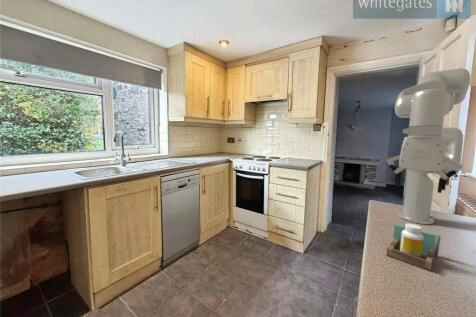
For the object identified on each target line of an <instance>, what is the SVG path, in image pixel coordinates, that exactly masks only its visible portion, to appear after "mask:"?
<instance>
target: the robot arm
mask: <svg viewBox="0 0 476 317" xmlns="http://www.w3.org/2000/svg"><path fill="white" fill-rule="evenodd" d="M470 84H471V74H470V71H468V69H466V68H454V69H453V68H452V69H446V70H438V71H433V72H428V73H426V74H424V75H423V76H421V77H420V78H419V79H418V82H417V84H416V85H413V86H410V87H407V88H405V89H404V90H402V91H401V92H400V93H399V94H398V97H397V98H396V101H395V104H394V113H395V116H397V118H401V119H402V118H403V119H409V125H408V127H407V128H403V129H402V133H403V134H407V136H404V138H403V140H402V144H401V149H400V154H398V155H394V156H392V157H390V158H387V159H386V162H387V164H388V167H389V169H391V171H393V172H394V174H395V175H394V183H395V185H396V187H400V186H401V185H402V181H403V173H402V171H404V170H406V182H405V183H406V184H405V191H404V198H403V199H404V201H403V210H402V211H400V212H398V217H399V218H400V219H403V220H404V221H408V222H411V223H413V224H414V223H415V224H421V225H433V224H434V223H435V220H434V219H433V217H431V212H432V211H431V210H432V204H433V203H432V202H433V196H434V186H435V185H434V181H433V180H432V178H431V177H430V176H429V175H430V174H431V175H432V174H435V175H439V179H438V185H437V193H438V194H439V193H440V194H441V193H442V192H443V191H445V190H446V186H447V179H450V178H452V177H453V176H455V175H457V174H458V173H459V172H460V171H461V170H462V169H463V167H464V166H463V164H461V162H462V155H463V153H462V152H463V144H464V134H463V131H462V129H460V128H458V127H444V121H445V120H444V119H445V116H447V115H449V114H450V113H451V111H453V108H454V106H455V105H459V104H462V102H464V100H465V98H466V95H467V92H468V90H469V87H470ZM395 161H398V166H399V167H397V166H396V165H395V163H394V162H395ZM428 174H429V175H428Z"/></svg>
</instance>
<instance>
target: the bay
mask: <svg viewBox="0 0 476 317" xmlns="http://www.w3.org/2000/svg"><path fill="white" fill-rule="evenodd" d="M393 238H394V237H393ZM398 243H399V239H397V238H394V240H393V239H392V241H391V242H390V244H389V245H388V246H387V248H386V257H390V258H392V259H395V260H397V261H400V262H403V263H406V264H409V265H412V266H414V267H417V268H419V269H422V270H425V271H427V272H431V269H432V266H433V262H434V258H435V257H434V254H435V250H433V249H430V250H429V253H428V254H425V253H422V256H421V258H420V257H417V256H414V255H411V254H408V253H405V252H402V251H400V245H398Z"/></svg>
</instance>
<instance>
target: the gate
mask: <svg viewBox="0 0 476 317" xmlns="http://www.w3.org/2000/svg"><path fill="white" fill-rule="evenodd" d="M403 230H406V229H405V226H402V225H399V224H394V230H393V231H394V232H393V239H392V241H393V240H394V238H397V239H399V243H398V245H400V243H401V234H402V231H403ZM421 234H422V235H423V237H424V240H423V248H422V253H425V254H428V253H429V250H430V249H433V250H435V254H434V258H436V259H437V258H439V257H438V256H439V252H440V245H441V244H440V243H441V238H442V237H441V236H440V235H439V234H433V233H429V232H426V231H421Z"/></svg>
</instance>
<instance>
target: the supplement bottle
mask: <svg viewBox="0 0 476 317" xmlns="http://www.w3.org/2000/svg"><path fill="white" fill-rule="evenodd" d="M404 227H405V229H406V230H403V231H402V234H401V243H400V251H402V252H405V253H408V254H411V255H414V256H417V257H420V258H421V256H422V248H423V240H424V237H423V235H422V234H421V231H422V230H423V227H422V226H420V225H418V224H416V223H415V224H414V223H405V226H404ZM422 232H423V231H422Z"/></svg>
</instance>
